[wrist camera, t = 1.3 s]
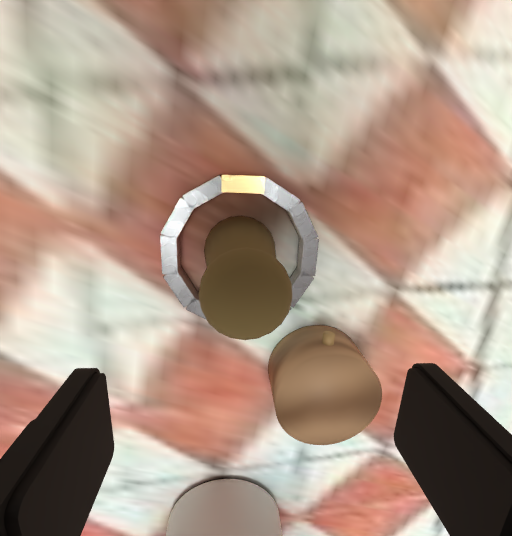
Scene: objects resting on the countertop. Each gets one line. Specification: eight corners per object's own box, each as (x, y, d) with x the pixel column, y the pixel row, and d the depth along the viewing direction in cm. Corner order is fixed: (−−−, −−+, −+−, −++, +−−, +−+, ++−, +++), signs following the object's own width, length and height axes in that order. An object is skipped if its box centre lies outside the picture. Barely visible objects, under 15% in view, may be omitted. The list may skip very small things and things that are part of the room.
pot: (271, 317, 28) (279, 347, 23) (365, 317, 29) (392, 346, 24) (265, 411, 31) (272, 454, 27) (350, 408, 32) (371, 449, 28)
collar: (161, 171, 24) (154, 172, 21) (319, 178, 25) (327, 179, 23) (168, 317, 27) (163, 330, 25) (305, 317, 28) (311, 329, 26)
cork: (217, 204, 25) (209, 231, 14) (286, 230, 26) (325, 272, 15) (194, 271, 26) (172, 340, 16) (260, 293, 27) (279, 370, 17)
